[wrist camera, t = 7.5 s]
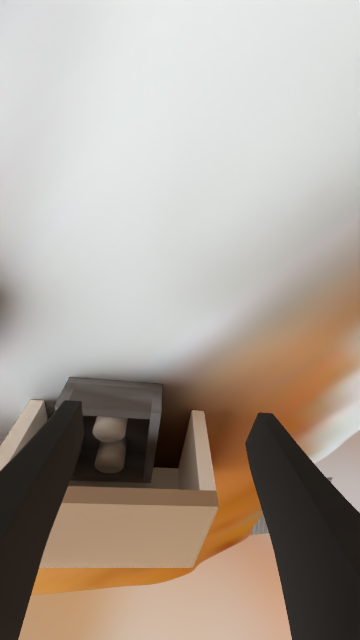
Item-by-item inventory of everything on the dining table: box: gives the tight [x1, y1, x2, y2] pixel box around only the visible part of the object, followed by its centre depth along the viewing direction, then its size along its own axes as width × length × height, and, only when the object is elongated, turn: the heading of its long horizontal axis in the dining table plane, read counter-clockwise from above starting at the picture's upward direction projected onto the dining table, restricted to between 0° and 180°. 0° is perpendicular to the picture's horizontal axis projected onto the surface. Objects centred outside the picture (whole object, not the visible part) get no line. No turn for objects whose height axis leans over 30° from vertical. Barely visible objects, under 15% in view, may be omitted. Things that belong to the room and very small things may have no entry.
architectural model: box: [250, 477, 332, 535], centre depth 32 cm, size 3×7×7 cm, turn 7°
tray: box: [54, 377, 162, 483], centre depth 22 cm, size 10×8×4 cm
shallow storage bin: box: [0, 400, 219, 568], centre depth 22 cm, size 11×16×8 cm
